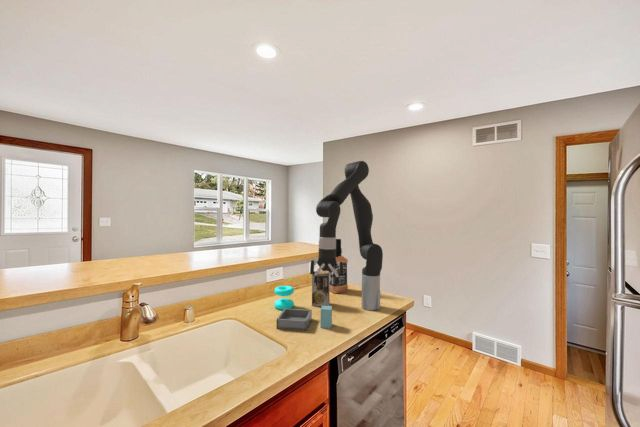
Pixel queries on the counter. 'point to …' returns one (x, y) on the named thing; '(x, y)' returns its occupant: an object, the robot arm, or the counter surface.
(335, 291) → the whiskey bottle
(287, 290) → the donuts
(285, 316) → the bin
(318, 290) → the coffee box
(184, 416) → the counter surface
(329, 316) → the teal block
